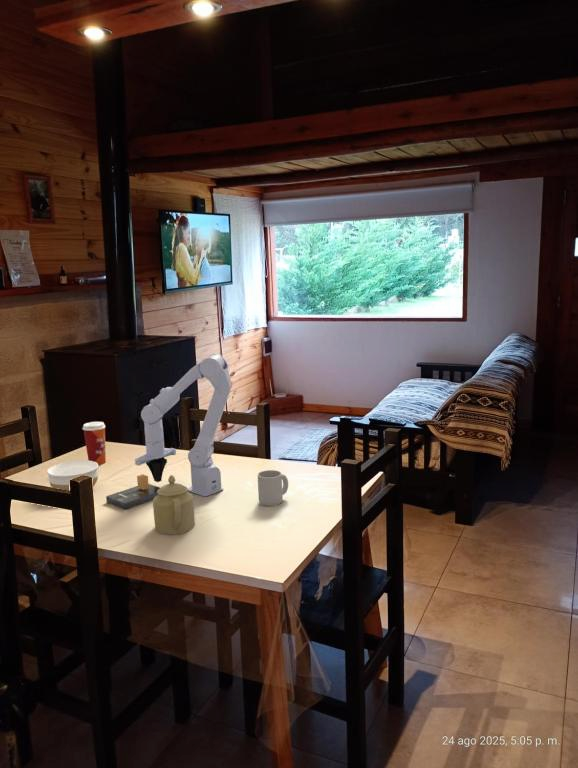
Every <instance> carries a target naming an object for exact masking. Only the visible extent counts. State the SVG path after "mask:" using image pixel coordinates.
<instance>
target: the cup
mask: <svg viewBox="0 0 578 768" xmlns="http://www.w3.org/2000/svg"><path fill="white" fill-rule="evenodd" d="M288 489H289V480H288V478H287V476H286V475H285V474H283V473H282V472H281V471H280V470H277V469H267V470H266V469H265V470H262V471H260V472H258V473H257V490H258V494H257V495H258V502H259V505H261V506H265V507H274V506H275V505H276V506H278V504H279V505H281V504H282V503H281V502H283V496H284V495H285V494H286V493H287V492H288ZM280 503H281V504H280ZM276 506H275V507H276Z"/></svg>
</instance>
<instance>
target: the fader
mask: <svg viewBox="0 0 578 768" xmlns="http://www.w3.org/2000/svg"><path fill="white" fill-rule="evenodd" d="M136 481H137V482H136V483H137V486H138V488H139V489H142V490H145V489H148V488H149V484H150V483H149V476H148V475H145V474H140V475H136Z"/></svg>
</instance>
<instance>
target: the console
mask: <svg viewBox="0 0 578 768" xmlns="http://www.w3.org/2000/svg"><path fill="white" fill-rule="evenodd" d="M148 484H149V488H148V489H145V490H142V489H139V488H138V485H137V486H133V487H130V488H127V489H124V490H121V491H118V492H115V493H111V494H109V495H106V496H105V499H106V503H107V504H108V505H109V504H110V505H113V506H114V507H117V508H119V509H122V510H125V511H126V510H128V509H131V508H134V507H137V506H140V505H143V504H145V503H148V502H149V503H150V502H151V501H153V499H154V498H155V497H156V496H158V493H157V490H158V489H160V488H161V487H159V486H157V485H153V484H151V483H148Z"/></svg>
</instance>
